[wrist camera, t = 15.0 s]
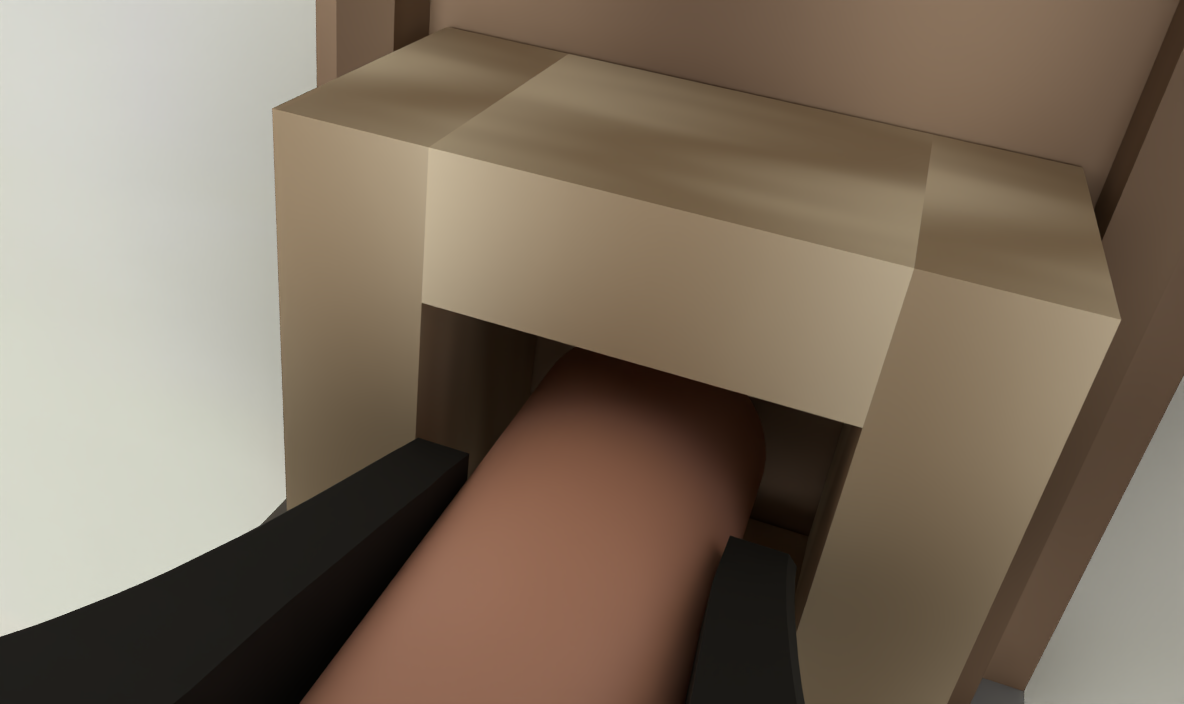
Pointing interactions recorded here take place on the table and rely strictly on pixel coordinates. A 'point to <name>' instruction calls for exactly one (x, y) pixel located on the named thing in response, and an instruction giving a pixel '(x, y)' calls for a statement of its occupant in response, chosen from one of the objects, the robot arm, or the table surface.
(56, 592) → the table surface
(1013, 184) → the wooden square frame
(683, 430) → the dowel
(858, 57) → the rail board
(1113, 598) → the table surface
